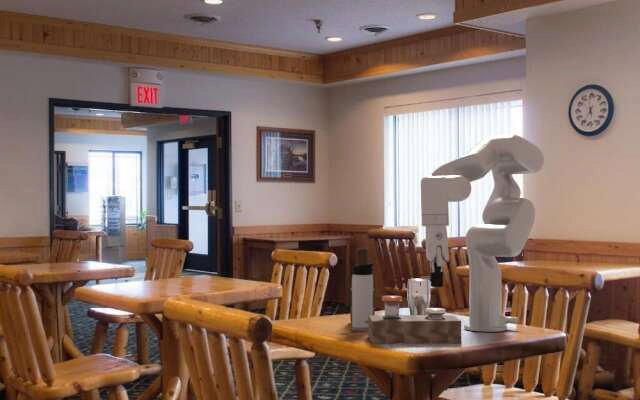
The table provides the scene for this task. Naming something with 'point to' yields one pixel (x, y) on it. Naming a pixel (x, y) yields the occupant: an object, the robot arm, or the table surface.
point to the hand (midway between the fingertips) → (436, 286)
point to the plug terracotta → (391, 306)
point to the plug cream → (435, 313)
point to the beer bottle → (361, 260)
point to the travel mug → (362, 296)
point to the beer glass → (418, 296)
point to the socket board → (414, 329)
